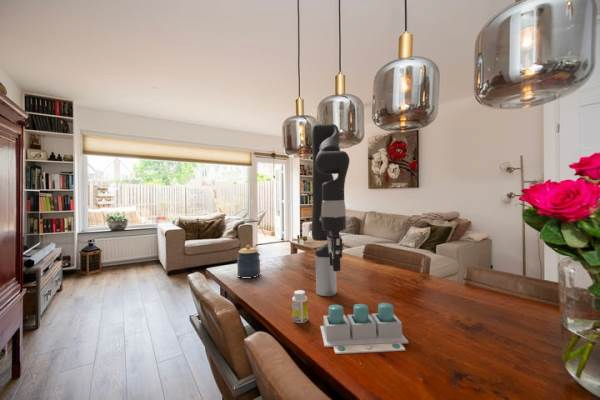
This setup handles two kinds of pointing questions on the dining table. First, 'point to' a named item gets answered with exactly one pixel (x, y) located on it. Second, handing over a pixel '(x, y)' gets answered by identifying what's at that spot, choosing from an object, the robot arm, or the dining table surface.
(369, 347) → the card
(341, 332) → the board
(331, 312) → the button
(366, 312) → the button
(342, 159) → the robot arm
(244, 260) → the canister
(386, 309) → the button
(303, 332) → the dining table surface
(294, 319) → the supplement bottle
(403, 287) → the dining table surface
